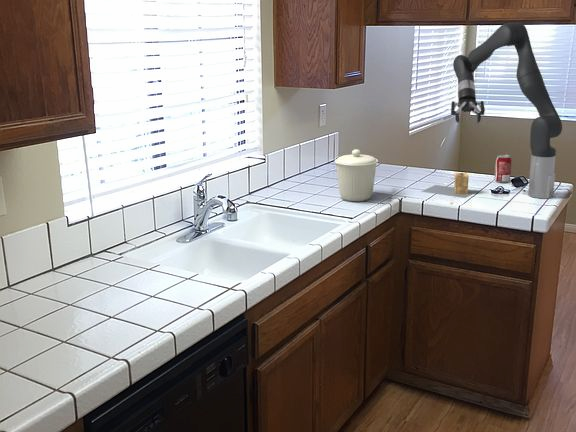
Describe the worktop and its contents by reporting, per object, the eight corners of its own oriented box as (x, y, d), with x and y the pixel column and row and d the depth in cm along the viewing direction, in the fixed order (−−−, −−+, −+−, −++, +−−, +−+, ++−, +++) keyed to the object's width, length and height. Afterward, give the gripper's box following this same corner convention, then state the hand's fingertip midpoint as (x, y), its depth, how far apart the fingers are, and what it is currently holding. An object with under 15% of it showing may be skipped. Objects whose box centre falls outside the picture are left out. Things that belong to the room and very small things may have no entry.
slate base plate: (478, 194, 271) (478, 190, 270) (465, 201, 260) (465, 197, 260) (435, 188, 283) (435, 184, 283) (420, 194, 272) (420, 191, 272)
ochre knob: (466, 191, 270) (467, 172, 268) (467, 194, 266) (468, 174, 263) (454, 191, 271) (455, 172, 269) (455, 194, 266) (456, 174, 264)
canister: (363, 206, 257) (363, 155, 251) (326, 200, 268) (325, 151, 262) (385, 196, 271) (386, 147, 265) (349, 191, 282) (349, 144, 276)
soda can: (511, 183, 288) (513, 157, 284) (496, 183, 288) (498, 157, 285) (507, 179, 294) (509, 154, 291) (492, 180, 294) (494, 154, 291)
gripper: (451, 87, 284) (452, 116, 276) (484, 86, 282) (486, 116, 274) (449, 98, 290) (450, 126, 283) (481, 97, 288) (483, 126, 281)
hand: (468, 121), depth 278 cm, fingers open, 8 cm apart
